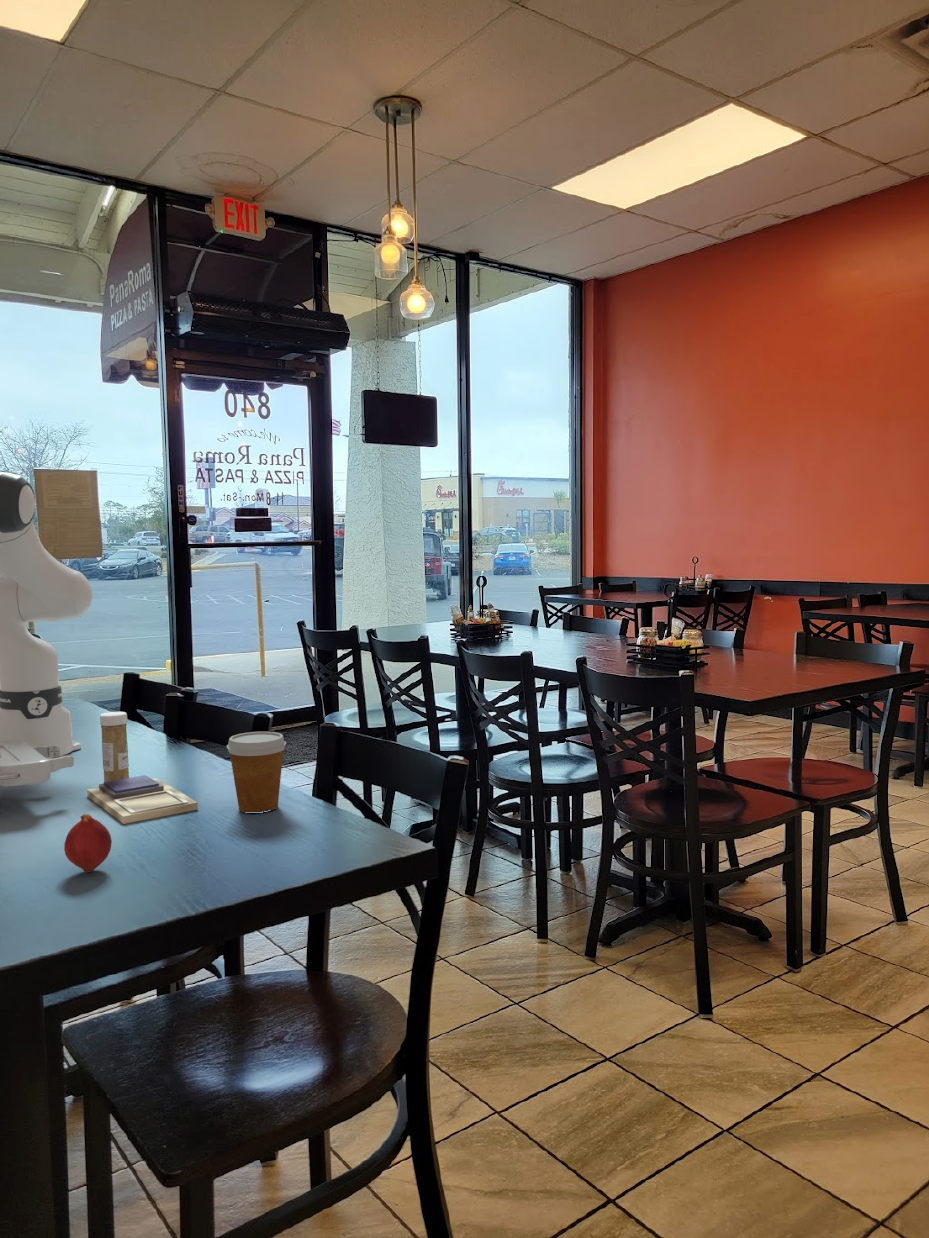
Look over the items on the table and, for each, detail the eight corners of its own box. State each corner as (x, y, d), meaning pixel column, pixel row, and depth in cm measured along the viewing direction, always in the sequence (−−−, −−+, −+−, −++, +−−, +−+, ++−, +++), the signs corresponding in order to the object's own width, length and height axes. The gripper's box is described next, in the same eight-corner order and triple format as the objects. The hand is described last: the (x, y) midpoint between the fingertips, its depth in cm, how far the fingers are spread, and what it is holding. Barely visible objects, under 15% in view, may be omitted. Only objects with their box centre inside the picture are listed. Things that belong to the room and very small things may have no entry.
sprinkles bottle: (132, 786, 162) (129, 713, 161) (106, 791, 159) (102, 716, 158) (126, 781, 166) (123, 709, 164) (100, 785, 163) (97, 712, 162)
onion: (78, 863, 123) (75, 806, 122) (119, 863, 123) (117, 806, 122) (57, 879, 117) (54, 819, 117) (101, 879, 117) (98, 819, 116)
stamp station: (87, 796, 156) (86, 782, 156) (156, 784, 163) (155, 771, 163) (123, 823, 140) (122, 809, 140) (197, 809, 148) (197, 795, 147)
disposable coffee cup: (216, 814, 145) (214, 741, 144) (250, 798, 154) (248, 729, 153) (267, 819, 142) (265, 745, 141) (298, 803, 151) (296, 733, 150)
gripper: (-12, 761, 140) (80, 748, 149) (-35, 739, 156) (50, 728, 165) (-10, 800, 141) (82, 785, 149) (-33, 774, 157) (52, 762, 165)
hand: (65, 755), depth 157 cm, fingers open, 8 cm apart
